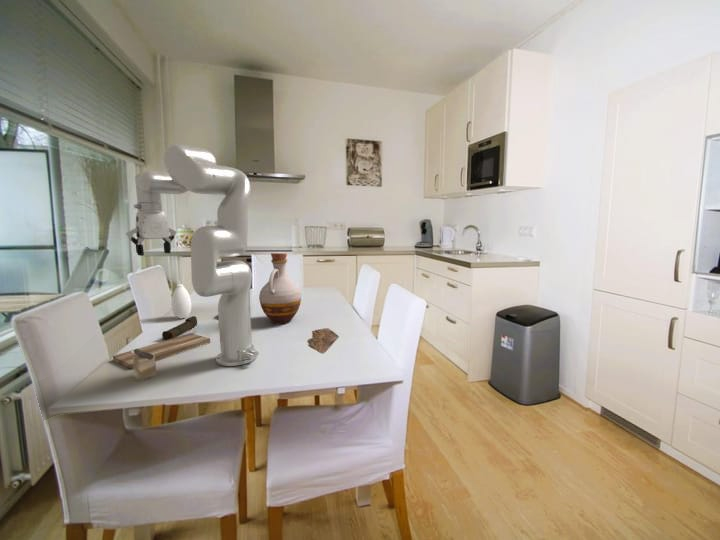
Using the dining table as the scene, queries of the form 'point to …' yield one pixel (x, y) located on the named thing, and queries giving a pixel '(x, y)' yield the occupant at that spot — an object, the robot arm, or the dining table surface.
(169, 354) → the board
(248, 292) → the robot arm
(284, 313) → the jug
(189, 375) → the dining table surface
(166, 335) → the hand tool
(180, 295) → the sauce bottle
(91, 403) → the dining table surface
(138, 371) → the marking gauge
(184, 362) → the dining table surface
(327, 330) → the wooden fragment
